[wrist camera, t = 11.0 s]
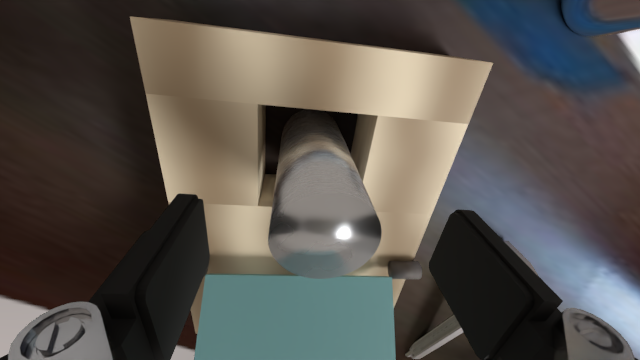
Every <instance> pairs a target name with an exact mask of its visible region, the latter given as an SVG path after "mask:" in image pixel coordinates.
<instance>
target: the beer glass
mask: <svg viewBox="0 0 640 360" xmlns="http://www.w3.org/2000/svg"><path fill="white" fill-rule="evenodd" d="M561 9H562V14H563V18H564V20H565V22H566V24H567V26H568V27H569V28H570V29H571V30H572V31H574V32H575V33H577V34H580V35H583V36H588V37H597V36H606V35H612V34H618V33H624V32H630V31H636V30H640V0H561Z"/></svg>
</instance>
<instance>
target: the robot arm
mask: <svg viewBox="0 0 640 360" xmlns="http://www.w3.org/2000/svg"><path fill="white" fill-rule="evenodd" d="M209 259H210V252H209V244H208V236H207V228H206V220H205V212H204V203H203V200H202V199H198V196H197V195H196V194H177V195H176V197H175V198H174V199H173V200H172V202H171V203H170V204H169V206H168V207H167V208H166V209H165V211H164V212H163V213H162V215H161V216H160V217H159V219H158V220H157V221H156V222H155V224H154V225H153V226H152V228H151V229H150V230H147V231H145V232H144V233H143V234H142V235H141V236H140V237H139V239H138V240H137V241H136V242H135V244H134V245H133V246H132V248H131V249H130V250H129V251H128V253H127V254H126V255H125V256H124V258H123V259H122V260H121V261H120V263H119V264H118V265H117V266H116V268H115V269H114V270H113V271H112V273H111V274H110V275H109V276H108V278H107V279H106V280H105V282H104V283H103V284H102V285H101V287H100V288H99V289H98V290H97V292H96V293H95V294H94V295H93V297H92V298H91V299H90V300H89V302H74V303H68V304H65V305H62V306H59V307H56V308H54V309H52V310H50V311H48V312H46V313H44V314H42V315H40V316H39V317H38V318H36V319H35V320H33V321H32V322H31V323H29V324H28V325H27V326H26V327H25V328H24V329H23V330H22V331H21V332H20V333H19V334H18V335H17V337H16V338H15V340H14V341H13V343H12V344H11V347H10V351H9V354H7V355H5V356H3V357H1V358H0V360H170V359H171V356H172V354H173V352H174V349H175V347H176V344H177V342H178V339H179V337H180V334H181V332H182V329H183V327H184V324H185V322H186V319H187V317H188V314H189V312H190V309H191V307H192V304H193V302H194V299H195V297H196V294H197V292H198V289H199V287H200V284H201V282H202V279H203V277H204V274H205V272H206V269H207V267H208V264H209ZM429 269H430V272H431V274H432V275H433V277H434V279H435V281H436V283H437V285H438V286H439V288H440V290H441V292H442V294H443V295H444V297H445V299H446V301H447V303H448V305H449V306H450V308H451V310H452V312H453V314H454V315H455V317H456V319H457V321H458V323H459V325H460V326H461V328H462V330H463V332H464V334H465V335H466V337H467V339H468V341H469V343H470V345H471V346H472V348H473V350H474V352H475V353H476V355H477V356H478V357H479V358H480V359H482V360H638V359H636V358H634V355H633V353H632V350H631V348H630V346H629V344H628V343H627V341H626V340H625V339H624V338H623V337H622V336H621V334H620V333H618V332H617V331H616V330H615V329H614V328H613V327H612V326H610V325H609V324H608V323H606V322H605V321H603V320H602V319H600V318H598V317H596V316H595V315H593V314H591V313H589V312H586V311H583V310H581V309H576V308H567V309H566V310H564V311H563V312H562V313H561V312H560V311H559V310H558V309H557V307H558V306H559V305H560V304H561V303H562V300H561V299H560V298H559V297H558V296H557V295H556V294H555V293H554V292H553V291H552V290H551V289H550V288H549V287H548V286H547V285H546V284H545V283H544V282H543V281H542V279H541V278H540V277H539V276H538V275H537V274H536V273H535V272H534V271H533V270H532V269H531V268H530V267H529V266H528V265H527V264H526V263H525V262H524V261H523V260H522V259H521V258H520V257H519V256H518V255H517V254H516V253H515V252H514V251H513V250H512V249H511V248H510V247H509V246H508V245H507V244H506V243H505V242H504V241H503V240H502V239H501V238H500V237H499V236H498V235H497V234H496V233H495V232H494V231H493V230H492V229H491V228H490V227H489V226H488V225H487V224H486V223H485V222H484V221H483V220H482V219H481V218H480V217H479V216H478V215H477V214H476V213H475V212H474V211H471V210H456V211H455V212H454V213H452V214H451V215H450V216H449V218H448V221H447V223H446V225H445V228H444V230H443V232H442V234H441V237H440V239H439V241H438V244H437V246H436V248H435V251H434V253H433V255H432V257H431V260H430V262H429Z"/></svg>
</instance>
